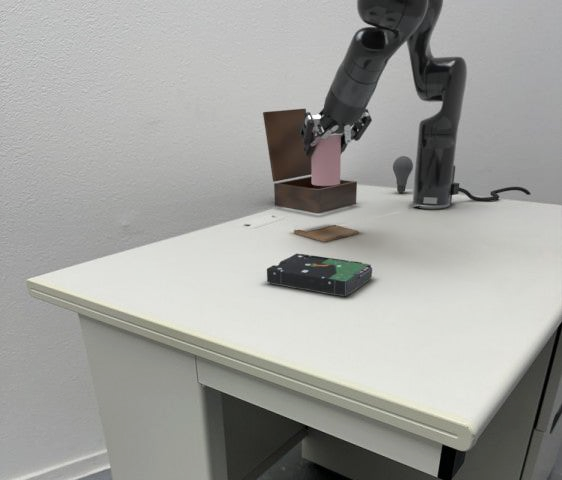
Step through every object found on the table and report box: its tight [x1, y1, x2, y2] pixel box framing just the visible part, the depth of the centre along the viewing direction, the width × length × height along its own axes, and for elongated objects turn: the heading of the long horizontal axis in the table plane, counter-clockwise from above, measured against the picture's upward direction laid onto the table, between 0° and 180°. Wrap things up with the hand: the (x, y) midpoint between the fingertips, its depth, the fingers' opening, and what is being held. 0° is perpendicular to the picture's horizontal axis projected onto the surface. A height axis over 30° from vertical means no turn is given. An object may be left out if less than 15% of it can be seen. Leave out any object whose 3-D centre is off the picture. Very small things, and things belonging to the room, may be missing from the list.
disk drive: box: [266, 253, 373, 297], centre depth 91 cm, size 10×3×15 cm
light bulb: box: [392, 155, 414, 194], centre depth 154 cm, size 6×6×10 cm
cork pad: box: [293, 224, 359, 243], centre depth 119 cm, size 10×10×1 cm
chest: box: [273, 175, 358, 214], centre depth 142 cm, size 16×15×6 cm
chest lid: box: [262, 108, 312, 183], centre depth 142 cm, size 16×15×1 cm
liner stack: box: [311, 133, 342, 186], centre depth 112 cm, size 6×6×10 cm
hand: (322, 152), depth 113 cm, fingers closed on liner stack, 6 cm apart
